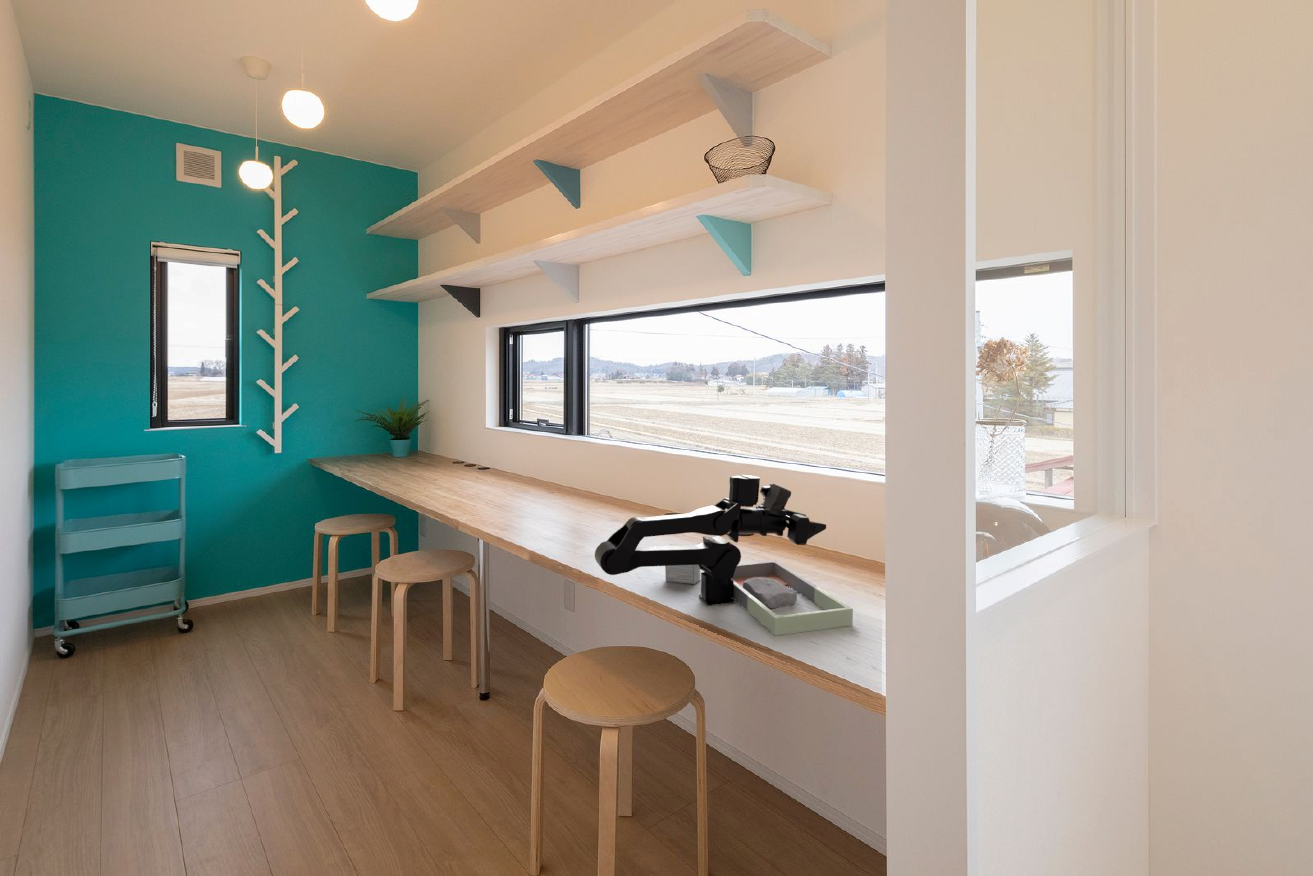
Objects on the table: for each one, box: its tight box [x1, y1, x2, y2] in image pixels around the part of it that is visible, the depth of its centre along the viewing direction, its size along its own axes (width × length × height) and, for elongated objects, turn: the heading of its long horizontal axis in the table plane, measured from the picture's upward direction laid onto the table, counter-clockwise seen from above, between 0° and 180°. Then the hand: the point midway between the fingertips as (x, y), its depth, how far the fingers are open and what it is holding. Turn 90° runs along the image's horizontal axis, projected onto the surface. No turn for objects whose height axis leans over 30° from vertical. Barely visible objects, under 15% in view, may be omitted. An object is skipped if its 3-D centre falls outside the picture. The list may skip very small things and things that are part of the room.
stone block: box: [743, 577, 798, 610], centre depth 149 cm, size 12×5×10 cm
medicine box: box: [664, 543, 701, 585], centre depth 164 cm, size 8×4×9 cm, turn 68°
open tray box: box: [731, 560, 854, 636], centre depth 148 cm, size 17×36×4 cm, turn 15°
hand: (815, 521), depth 155 cm, fingers open, 9 cm apart
